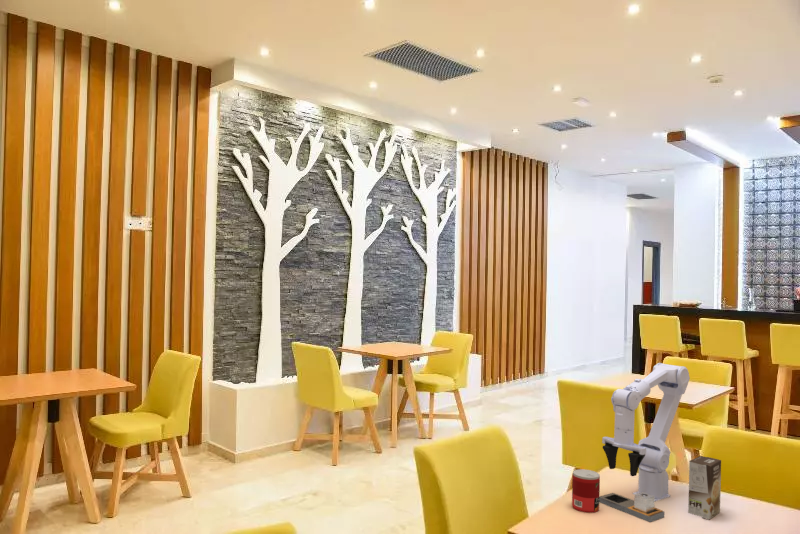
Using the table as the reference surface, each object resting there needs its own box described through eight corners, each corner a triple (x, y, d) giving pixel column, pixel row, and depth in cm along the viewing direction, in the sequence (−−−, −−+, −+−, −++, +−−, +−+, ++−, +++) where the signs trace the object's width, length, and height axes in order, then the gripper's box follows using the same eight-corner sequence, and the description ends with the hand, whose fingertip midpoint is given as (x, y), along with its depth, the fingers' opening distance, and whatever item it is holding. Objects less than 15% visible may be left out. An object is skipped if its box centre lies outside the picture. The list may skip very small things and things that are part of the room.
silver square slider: (642, 511, 185) (642, 491, 185) (654, 516, 182) (654, 495, 182) (634, 514, 183) (634, 493, 183) (646, 519, 179) (646, 498, 179)
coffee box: (710, 520, 180) (711, 466, 180) (687, 514, 185) (688, 460, 185) (720, 512, 187) (721, 459, 187) (698, 506, 191) (699, 454, 191)
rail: (612, 498, 196) (612, 492, 196) (664, 518, 181) (664, 511, 181) (598, 503, 192) (598, 496, 192) (650, 523, 177) (650, 516, 177)
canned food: (600, 515, 182) (601, 478, 182) (572, 512, 184) (573, 476, 184) (597, 505, 190) (598, 470, 190) (571, 503, 192) (571, 468, 192)
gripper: (596, 424, 195) (595, 467, 194) (636, 435, 183) (635, 480, 182) (610, 422, 199) (609, 464, 198) (650, 432, 187) (649, 477, 186)
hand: (622, 472), depth 191 cm, fingers open, 7 cm apart
